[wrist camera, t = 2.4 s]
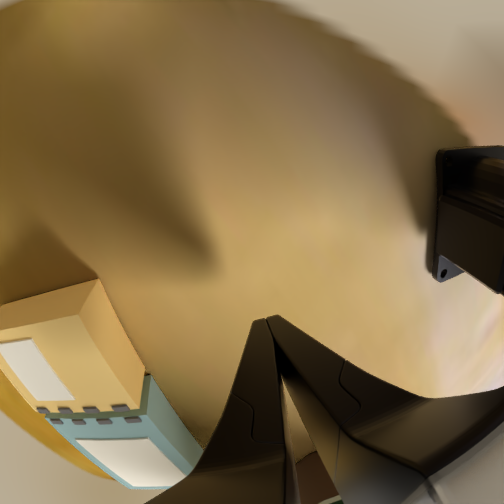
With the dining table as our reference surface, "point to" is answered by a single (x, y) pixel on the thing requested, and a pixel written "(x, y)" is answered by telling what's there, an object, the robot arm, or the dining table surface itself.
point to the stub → (70, 352)
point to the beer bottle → (315, 482)
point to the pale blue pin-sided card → (134, 441)
